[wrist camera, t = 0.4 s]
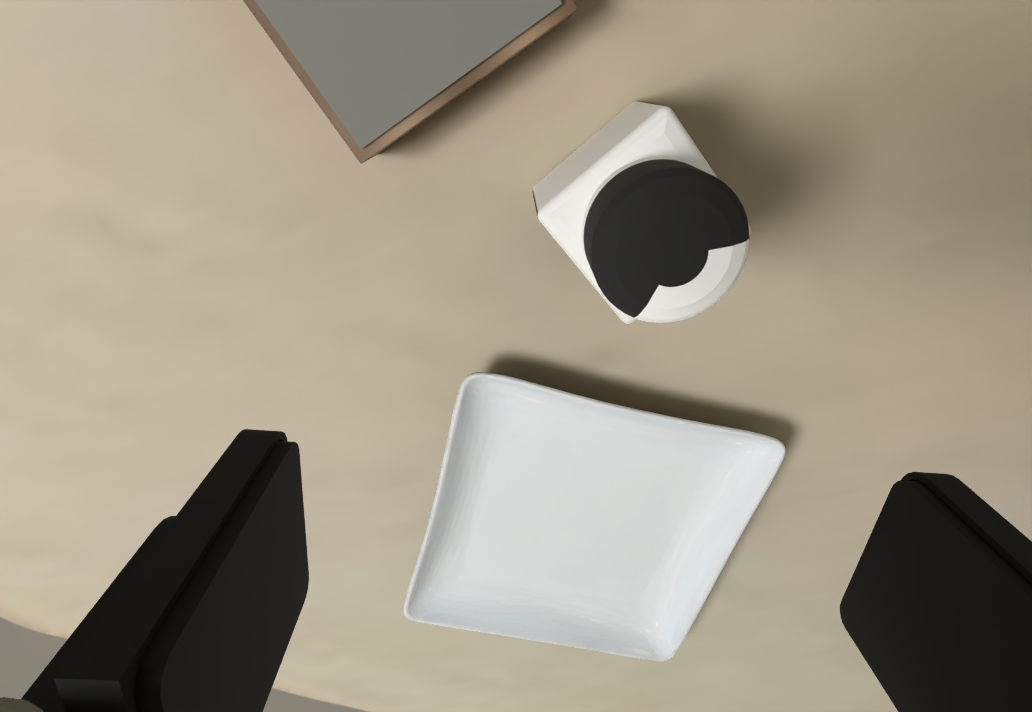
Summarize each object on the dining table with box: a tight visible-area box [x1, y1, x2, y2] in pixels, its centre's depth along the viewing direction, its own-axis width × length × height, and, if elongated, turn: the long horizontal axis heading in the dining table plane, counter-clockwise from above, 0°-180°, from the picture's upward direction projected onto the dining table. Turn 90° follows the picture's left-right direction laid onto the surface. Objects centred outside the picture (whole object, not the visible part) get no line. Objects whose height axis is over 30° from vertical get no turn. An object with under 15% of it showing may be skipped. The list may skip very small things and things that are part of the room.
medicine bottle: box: [533, 101, 752, 324], centre depth 27 cm, size 7×7×12 cm
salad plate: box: [404, 372, 786, 661], centre depth 41 cm, size 21×21×3 cm
